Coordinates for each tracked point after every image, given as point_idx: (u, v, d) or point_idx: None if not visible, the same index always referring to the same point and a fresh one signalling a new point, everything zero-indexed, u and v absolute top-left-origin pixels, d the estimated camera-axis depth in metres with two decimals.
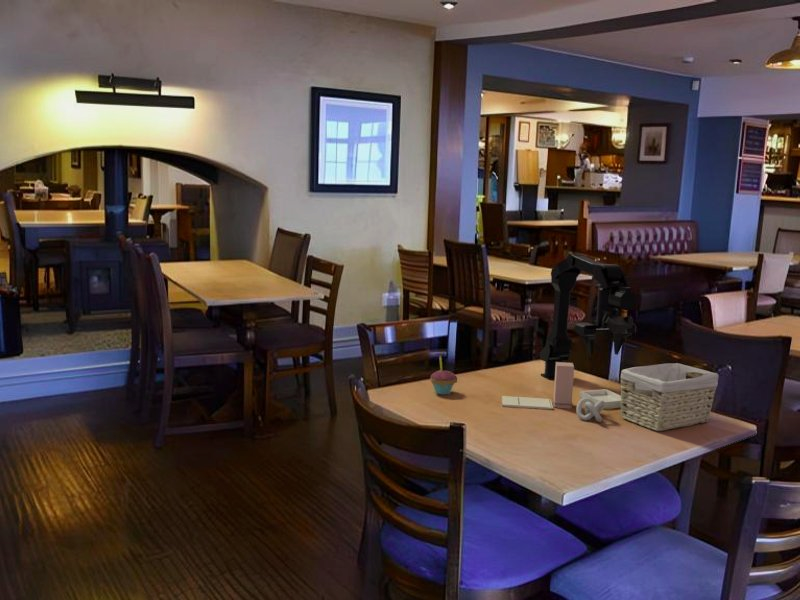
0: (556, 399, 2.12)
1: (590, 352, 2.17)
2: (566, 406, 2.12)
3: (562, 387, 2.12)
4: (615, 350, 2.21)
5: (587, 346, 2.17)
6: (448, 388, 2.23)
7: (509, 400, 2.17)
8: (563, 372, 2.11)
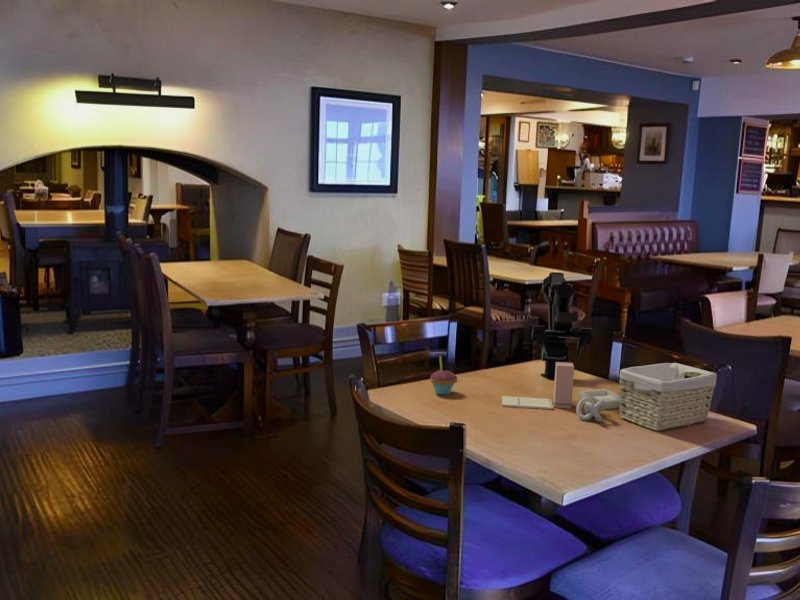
0: (556, 399, 2.12)
1: (546, 352, 2.21)
2: (566, 406, 2.12)
3: (562, 387, 2.12)
4: (576, 355, 2.21)
5: (543, 349, 2.23)
6: (448, 388, 2.23)
7: (509, 400, 2.17)
8: (563, 372, 2.11)
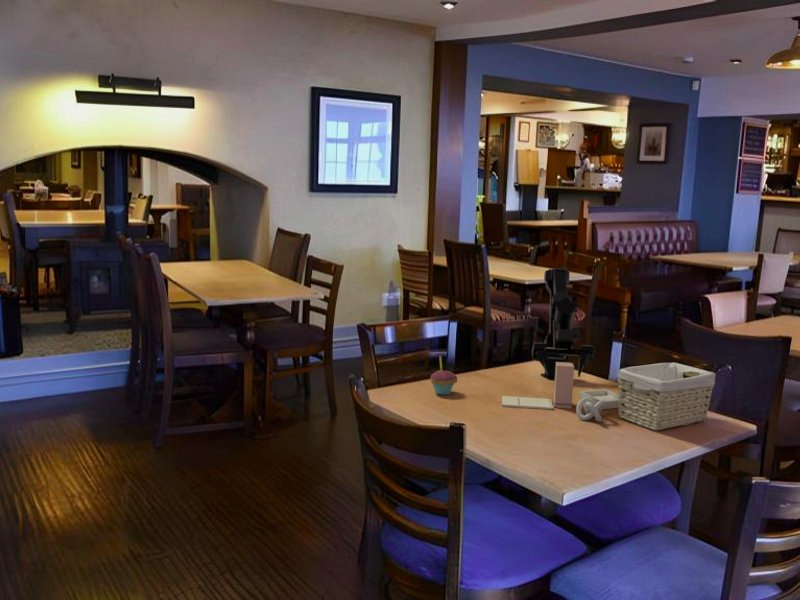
0: (556, 399, 2.12)
1: (546, 370, 2.16)
2: (566, 406, 2.12)
3: (562, 387, 2.12)
4: (578, 373, 2.15)
5: (544, 367, 2.18)
6: (448, 388, 2.23)
7: (509, 400, 2.17)
8: (564, 372, 2.11)
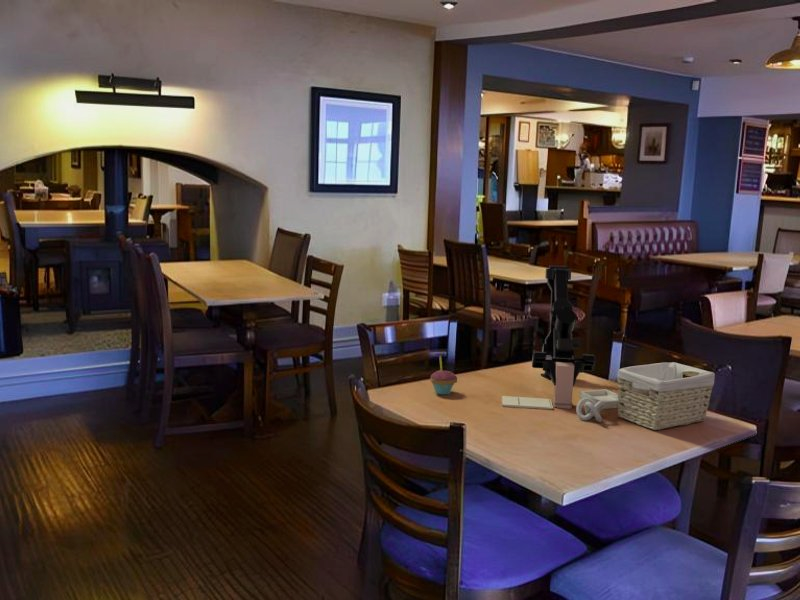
0: (556, 399, 2.12)
1: (553, 380, 2.13)
2: (566, 406, 2.12)
3: (562, 387, 2.12)
4: None
5: (551, 377, 2.15)
6: (448, 388, 2.23)
7: (509, 400, 2.17)
8: (563, 372, 2.11)
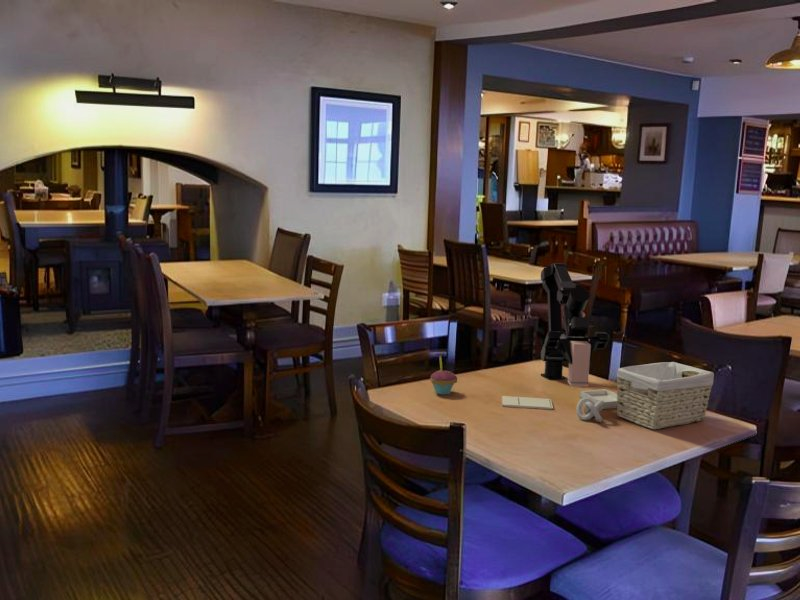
0: (573, 378, 2.12)
1: (569, 359, 2.13)
2: (582, 384, 2.12)
3: (579, 366, 2.11)
4: None
5: (566, 356, 2.14)
6: (448, 388, 2.23)
7: (509, 400, 2.17)
8: (580, 351, 2.11)
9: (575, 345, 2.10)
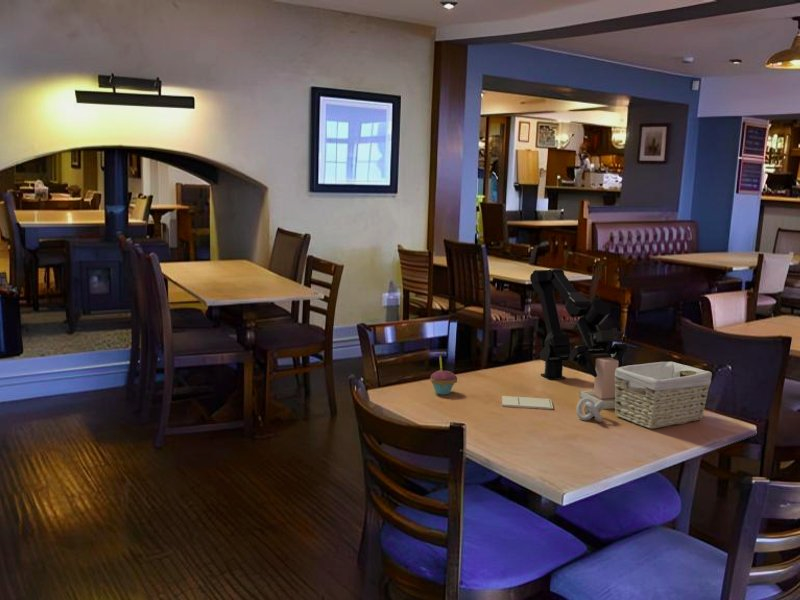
0: (603, 394, 2.16)
1: (593, 372, 2.16)
2: (611, 400, 2.18)
3: (609, 382, 2.16)
4: None
5: (588, 369, 2.17)
6: (448, 388, 2.23)
7: (509, 400, 2.17)
8: (610, 367, 2.16)
9: (605, 362, 2.15)
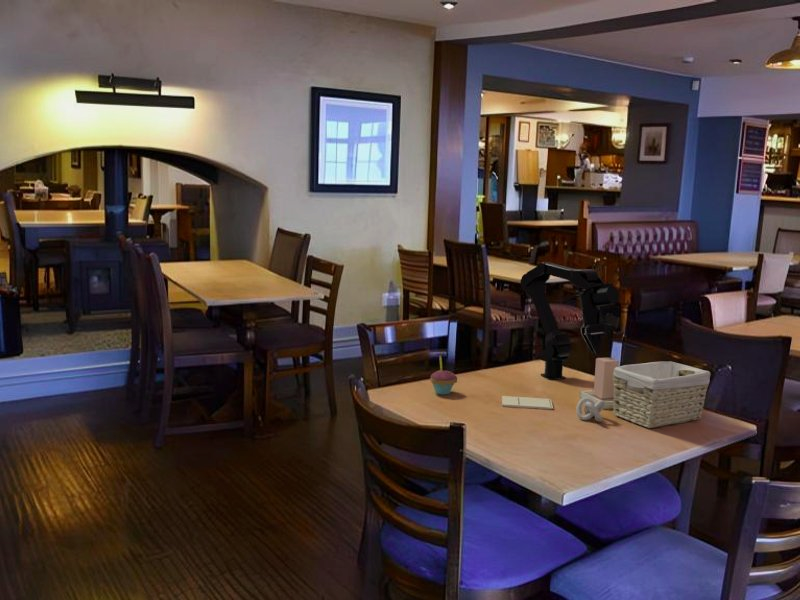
0: (603, 394, 2.16)
1: (599, 351, 2.25)
2: (611, 400, 2.18)
3: (609, 382, 2.16)
4: (593, 351, 2.35)
5: (595, 346, 2.25)
6: (448, 388, 2.23)
7: (509, 400, 2.17)
8: (610, 367, 2.16)
9: (605, 362, 2.15)
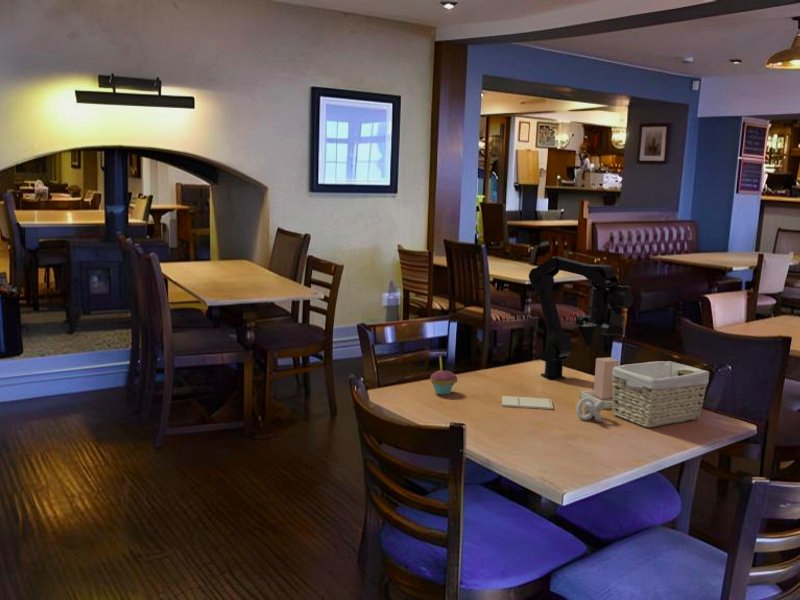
0: (603, 394, 2.16)
1: (607, 350, 2.28)
2: (611, 400, 2.18)
3: (609, 382, 2.16)
4: (588, 343, 2.37)
5: (606, 345, 2.27)
6: (448, 388, 2.23)
7: (509, 400, 2.17)
8: (610, 367, 2.16)
9: (605, 362, 2.15)
